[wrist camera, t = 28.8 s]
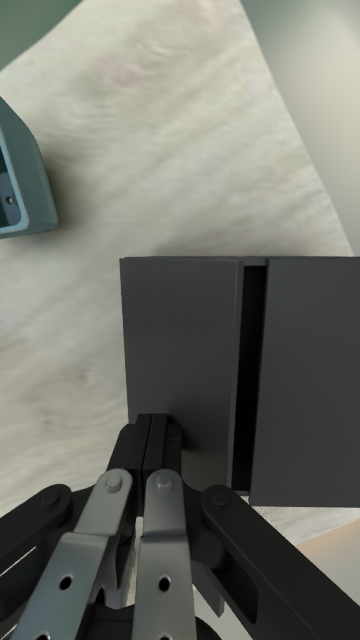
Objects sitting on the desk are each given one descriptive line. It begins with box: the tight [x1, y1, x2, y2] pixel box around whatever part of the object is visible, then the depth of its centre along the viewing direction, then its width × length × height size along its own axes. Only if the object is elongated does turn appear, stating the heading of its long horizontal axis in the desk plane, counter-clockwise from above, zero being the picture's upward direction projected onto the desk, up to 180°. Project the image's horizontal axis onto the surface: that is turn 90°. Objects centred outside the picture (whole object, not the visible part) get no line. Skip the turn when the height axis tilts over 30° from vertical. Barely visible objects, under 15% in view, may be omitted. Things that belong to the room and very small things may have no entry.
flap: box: [119, 258, 244, 618], centre depth 13 cm, size 17×8×1 cm
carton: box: [125, 256, 360, 508], centre depth 22 cm, size 17×16×13 cm
